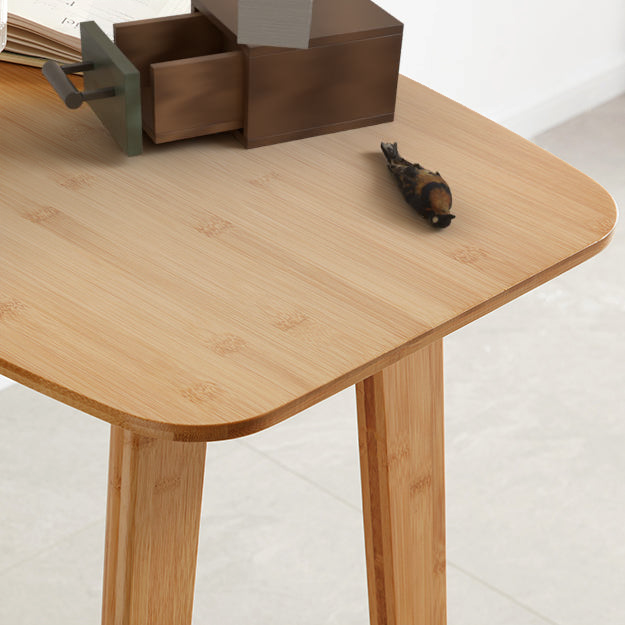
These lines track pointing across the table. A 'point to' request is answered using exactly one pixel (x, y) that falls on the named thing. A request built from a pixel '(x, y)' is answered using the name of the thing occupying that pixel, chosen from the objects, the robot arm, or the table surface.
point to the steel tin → (274, 23)
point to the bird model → (420, 187)
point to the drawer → (157, 79)
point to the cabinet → (317, 72)
